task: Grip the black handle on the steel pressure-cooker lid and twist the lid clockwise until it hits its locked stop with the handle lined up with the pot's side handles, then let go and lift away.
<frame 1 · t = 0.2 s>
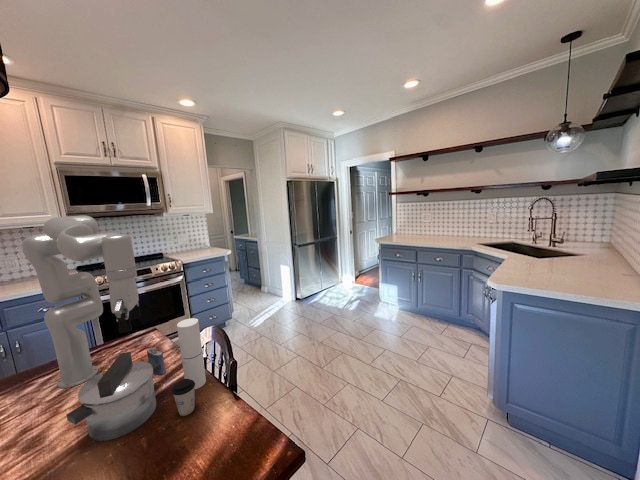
hand: (130, 324, 85), 31 cm above the table, tool pointing down, fingers open, 9 cm apart
cooker pot: (124, 415, 88), on the table
cooker lid: (116, 374, 85), point 15 cm above the table, hinge at 40.0°
cylindrical container: (196, 383, 102), on the table
coffee cup: (187, 410, 89), on the table
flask: (157, 371, 110), on the table
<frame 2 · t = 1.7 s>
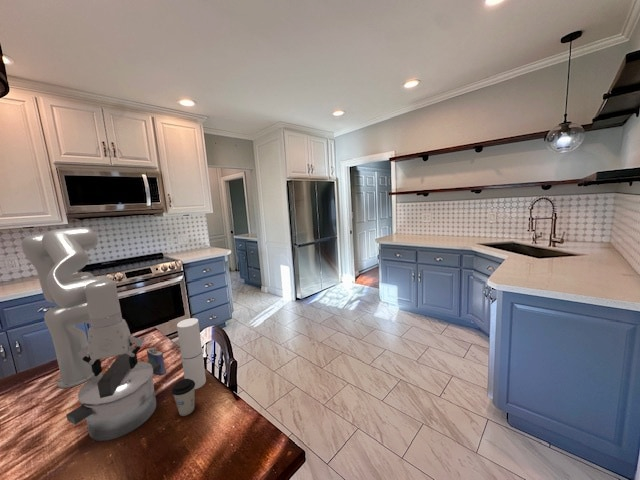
hand: (116, 370, 85), 17 cm above the table, tool pointing down, fingers open, 9 cm apart
nothing on the table moved.
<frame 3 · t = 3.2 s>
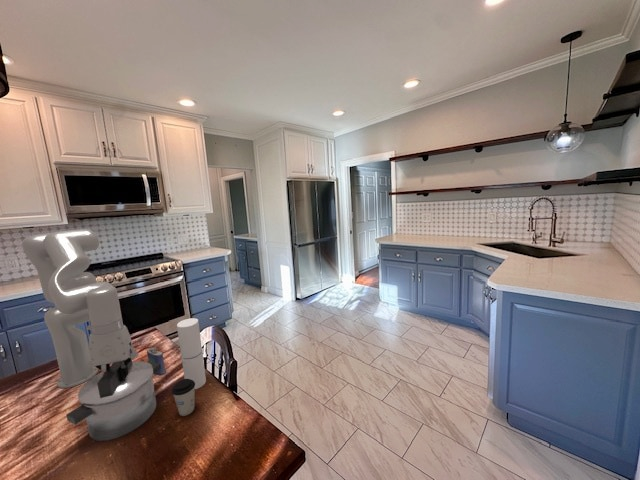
hand: (117, 378, 85), 14 cm above the table, tool pointing down, fingers closed on cooker lid, 3 cm apart
cooker lid: (116, 374, 85), point 15 cm above the table, hinge at 40.0°, touching gripper
everything else where it was.
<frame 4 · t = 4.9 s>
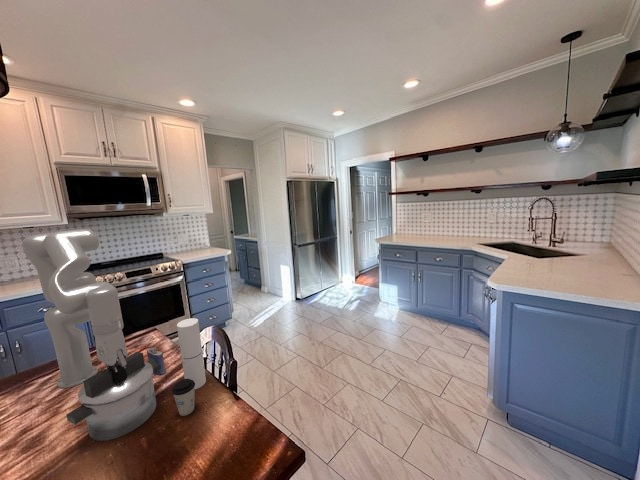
hand: (117, 378, 85), 14 cm above the table, tool pointing down, fingers closed on cooker lid, 3 cm apart
cooker lid: (116, 374, 85), point 15 cm above the table, hinge at 1.7°, touching gripper
everything else where it was.
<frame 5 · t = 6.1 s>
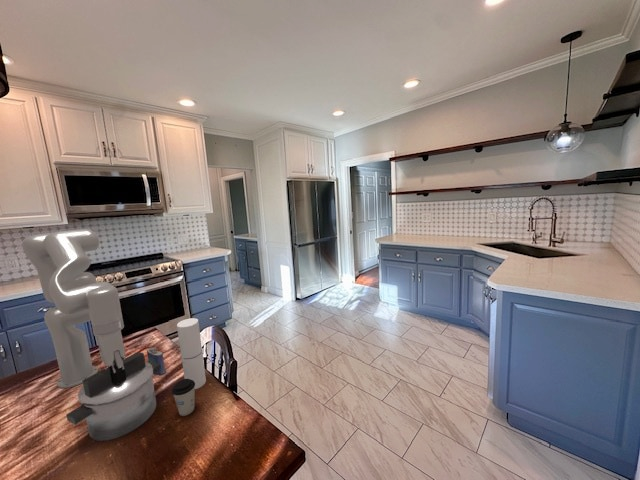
hand: (118, 378, 85), 14 cm above the table, tool pointing down, fingers closed on cooker lid, 3 cm apart
cooker lid: (116, 374, 85), point 15 cm above the table, hinge at -2.9°, touching gripper
everything else where it was.
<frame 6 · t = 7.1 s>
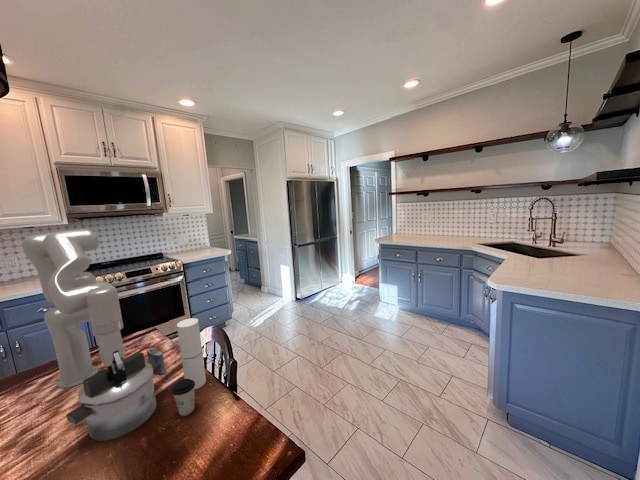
hand: (117, 377, 85), 14 cm above the table, tool pointing down, fingers open, 6 cm apart
cooker lid: (116, 374, 85), point 15 cm above the table, hinge at -1.4°
everything else where it was.
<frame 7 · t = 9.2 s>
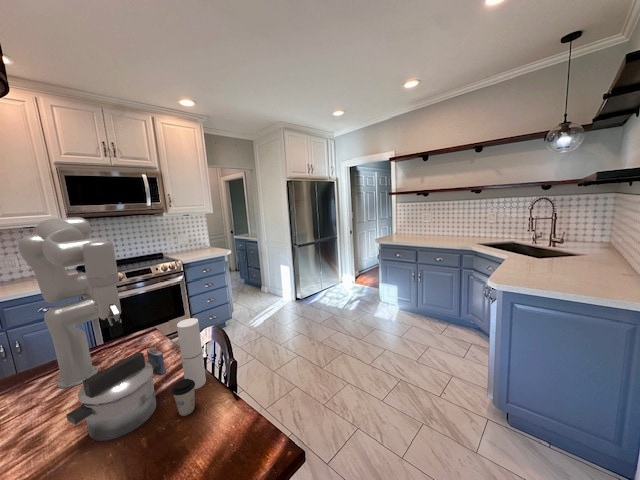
hand: (112, 331, 85), 29 cm above the table, tool pointing down, fingers open, 9 cm apart
nothing on the table moved.
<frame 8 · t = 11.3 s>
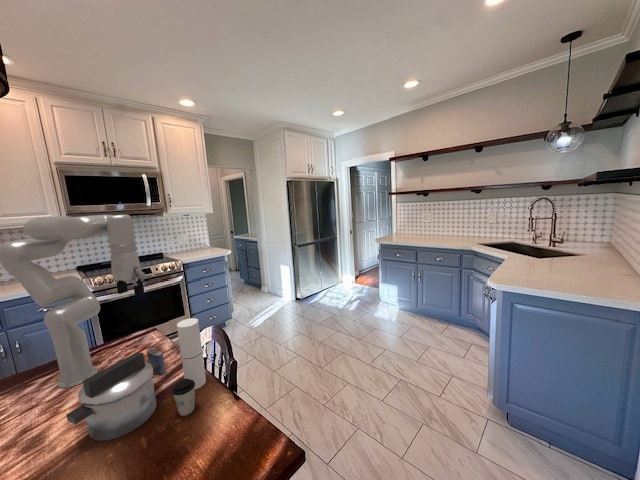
hand: (131, 293, 98), 36 cm above the table, tool pointing down, fingers open, 9 cm apart
nothing on the table moved.
at the end: cooker lid at -1° (first picture: +40°); the gripper is holding nothing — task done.
